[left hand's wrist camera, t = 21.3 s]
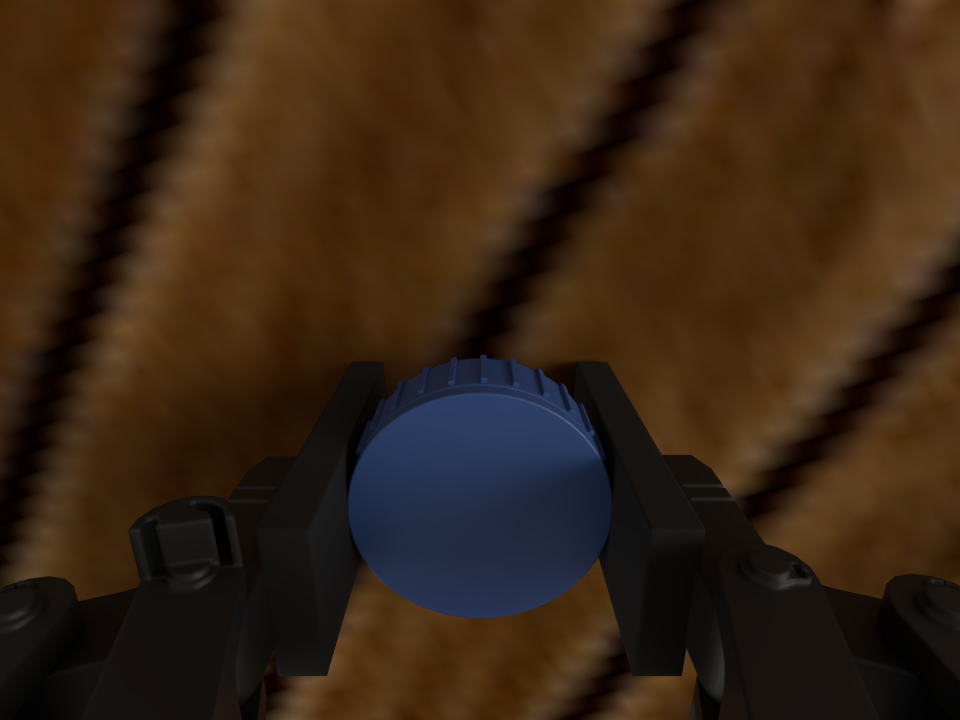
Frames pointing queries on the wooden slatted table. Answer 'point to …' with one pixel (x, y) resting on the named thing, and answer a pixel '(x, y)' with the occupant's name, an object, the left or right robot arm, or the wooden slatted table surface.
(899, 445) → the wooden slatted table surface
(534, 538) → the lid
